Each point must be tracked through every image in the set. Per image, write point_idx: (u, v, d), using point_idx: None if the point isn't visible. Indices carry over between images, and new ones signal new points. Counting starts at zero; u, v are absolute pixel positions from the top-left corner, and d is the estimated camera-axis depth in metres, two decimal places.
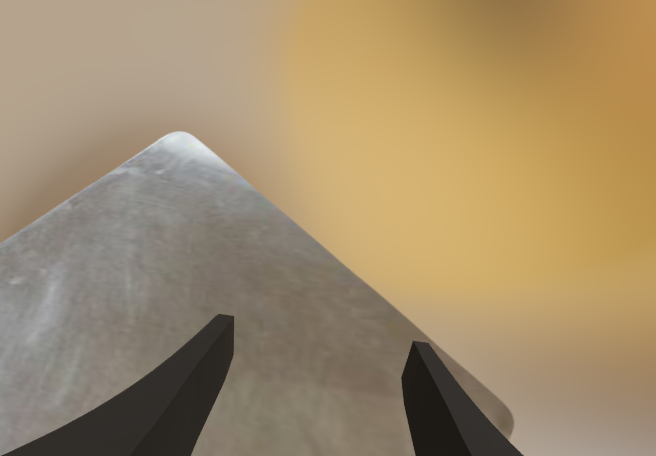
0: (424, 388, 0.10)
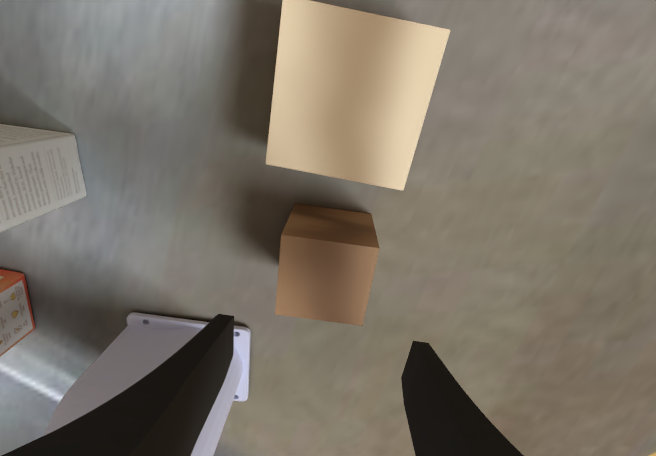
0: (424, 388, 0.10)
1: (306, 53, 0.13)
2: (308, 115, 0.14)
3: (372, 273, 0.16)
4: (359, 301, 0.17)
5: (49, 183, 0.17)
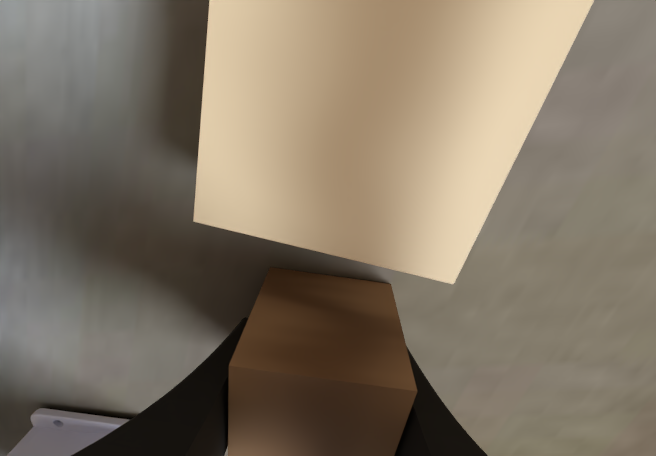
0: None
1: (277, 0, 0.06)
2: (277, 134, 0.07)
3: (401, 427, 0.09)
4: None
5: None
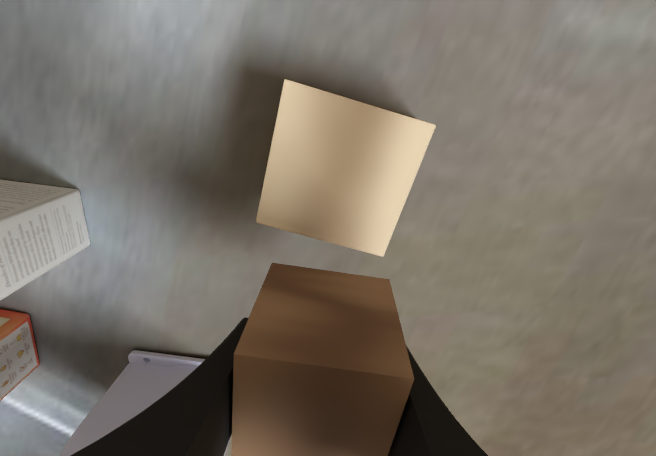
0: None
1: (302, 131, 0.14)
2: (299, 184, 0.15)
3: (399, 415, 0.09)
4: (373, 452, 0.10)
5: (55, 240, 0.18)
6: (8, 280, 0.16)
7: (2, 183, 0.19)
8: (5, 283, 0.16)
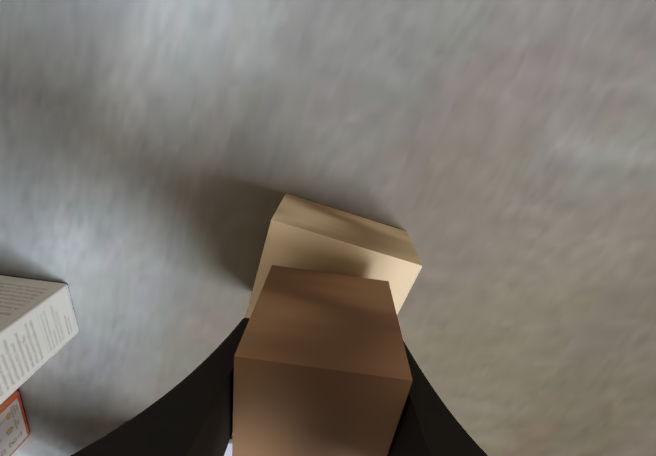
0: None
1: (288, 264, 0.14)
2: None
3: (398, 416, 0.09)
4: (373, 453, 0.10)
5: (41, 341, 0.18)
6: None
7: None
8: None
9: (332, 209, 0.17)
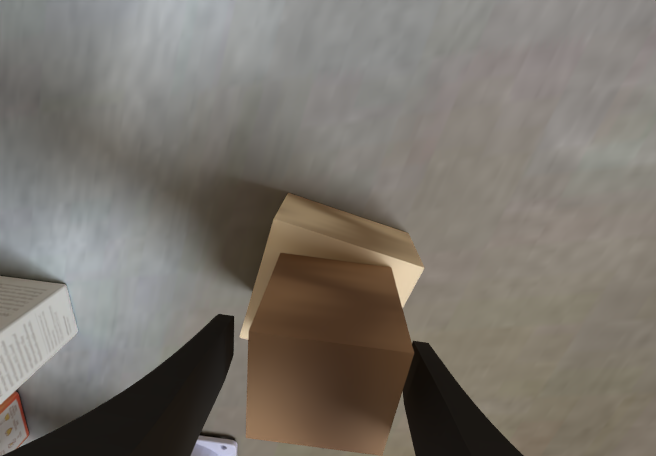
0: (424, 388, 0.10)
1: None
2: None
3: (400, 388, 0.10)
4: (378, 424, 0.11)
5: (40, 342, 0.18)
6: None
7: None
8: None
9: (334, 209, 0.17)
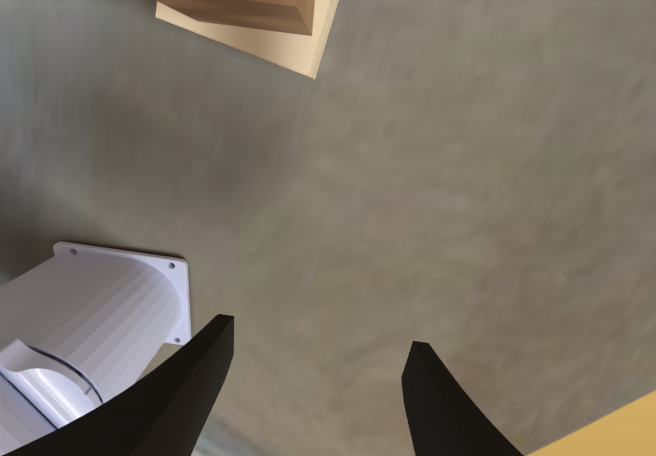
0: (425, 388, 0.10)
1: None
2: None
3: None
4: None
5: None
6: None
7: None
8: None
9: None
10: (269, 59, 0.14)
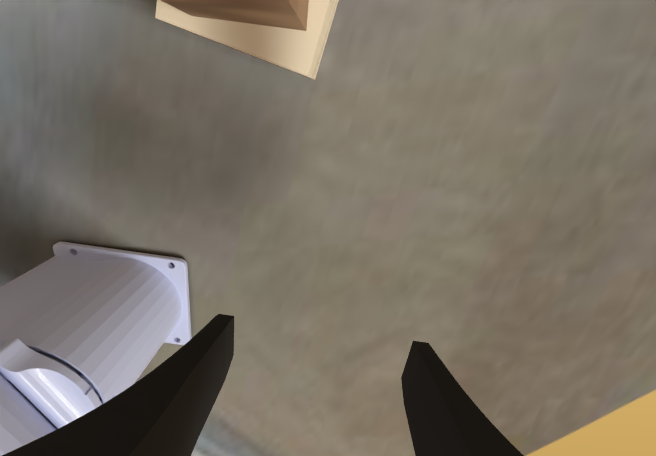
0: (424, 388, 0.10)
1: None
2: None
3: None
4: None
5: None
6: None
7: None
8: None
9: None
10: (269, 59, 0.14)
